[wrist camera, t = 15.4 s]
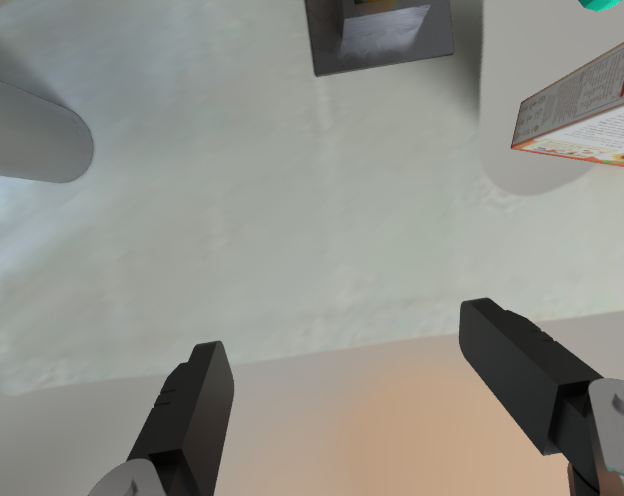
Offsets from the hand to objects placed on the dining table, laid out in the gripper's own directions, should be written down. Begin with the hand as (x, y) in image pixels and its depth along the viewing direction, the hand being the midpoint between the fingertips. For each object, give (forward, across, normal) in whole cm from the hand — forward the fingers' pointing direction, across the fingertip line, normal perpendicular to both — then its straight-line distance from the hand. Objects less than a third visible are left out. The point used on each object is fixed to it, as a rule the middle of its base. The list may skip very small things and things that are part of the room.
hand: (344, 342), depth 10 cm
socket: (+34, -12, -20) cm, 41 cm away
